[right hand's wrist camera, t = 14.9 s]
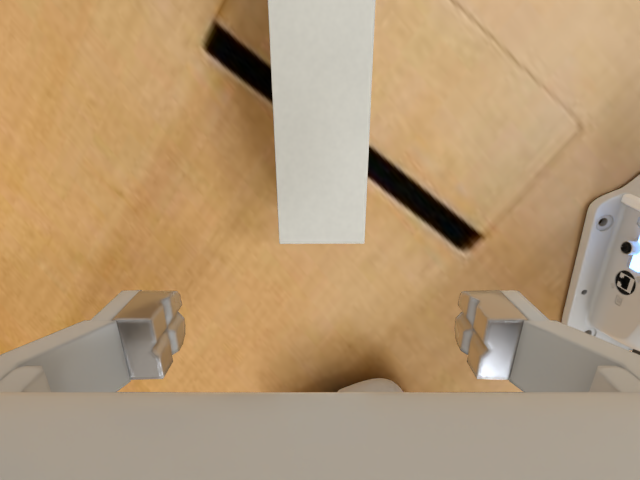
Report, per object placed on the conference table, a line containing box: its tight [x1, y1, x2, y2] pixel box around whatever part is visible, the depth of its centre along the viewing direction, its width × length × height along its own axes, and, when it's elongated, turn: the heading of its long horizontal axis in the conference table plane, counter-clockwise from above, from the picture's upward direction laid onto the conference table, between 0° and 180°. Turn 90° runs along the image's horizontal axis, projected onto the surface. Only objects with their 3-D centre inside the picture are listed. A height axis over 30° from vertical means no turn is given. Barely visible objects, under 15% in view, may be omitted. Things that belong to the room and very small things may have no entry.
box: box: [268, 0, 375, 244], centre depth 26 cm, size 25×6×10 cm, turn 0°
